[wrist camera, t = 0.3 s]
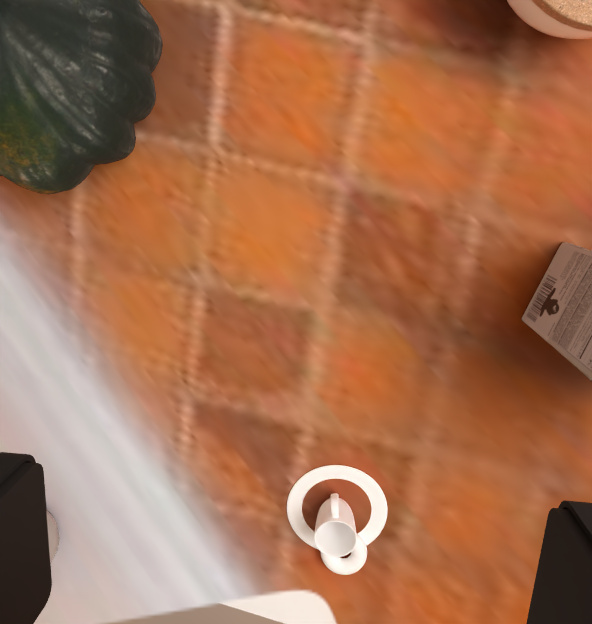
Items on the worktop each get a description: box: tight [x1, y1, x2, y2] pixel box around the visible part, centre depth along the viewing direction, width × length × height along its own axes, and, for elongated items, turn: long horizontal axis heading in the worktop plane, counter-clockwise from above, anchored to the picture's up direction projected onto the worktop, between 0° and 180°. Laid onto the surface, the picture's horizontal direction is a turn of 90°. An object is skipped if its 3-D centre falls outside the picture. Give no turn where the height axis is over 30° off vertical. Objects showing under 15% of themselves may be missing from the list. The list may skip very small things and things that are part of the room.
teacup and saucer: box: [287, 465, 387, 575], centre depth 43 cm, size 9×8×4 cm
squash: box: [0, 0, 163, 194], centre depth 31 cm, size 14×15×15 cm
